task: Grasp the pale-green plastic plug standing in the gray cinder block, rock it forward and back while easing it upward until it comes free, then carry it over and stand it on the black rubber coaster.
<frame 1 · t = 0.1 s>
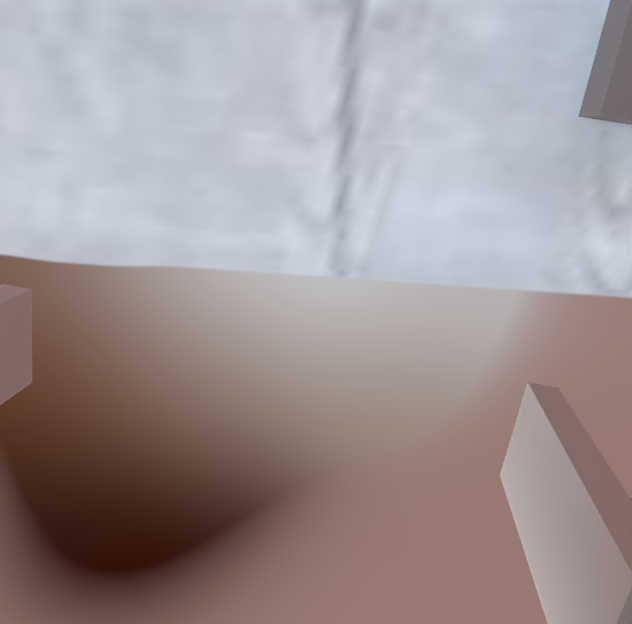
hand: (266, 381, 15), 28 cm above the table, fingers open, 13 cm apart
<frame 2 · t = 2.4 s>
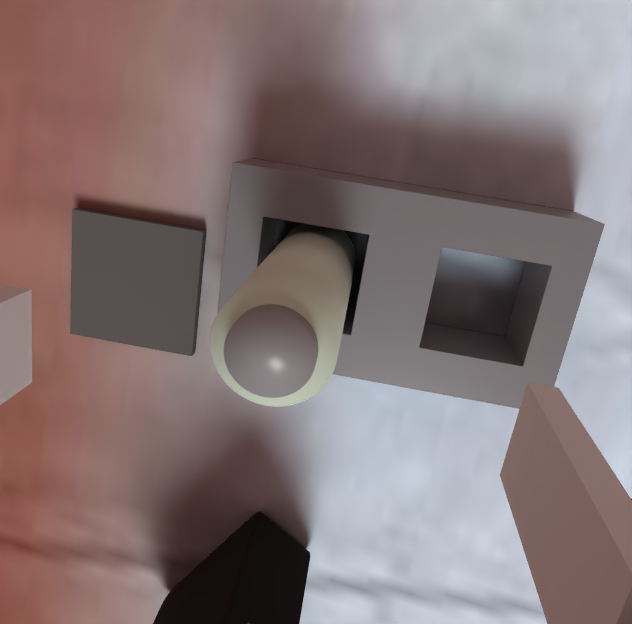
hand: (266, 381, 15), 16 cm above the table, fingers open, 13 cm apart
electronic device: (237, 568, 37), on the table
plug: (317, 258, 30), resting in gray cinder block
coaster: (138, 282, 31), on the table
gray cinder block: (393, 272, 30), on the table
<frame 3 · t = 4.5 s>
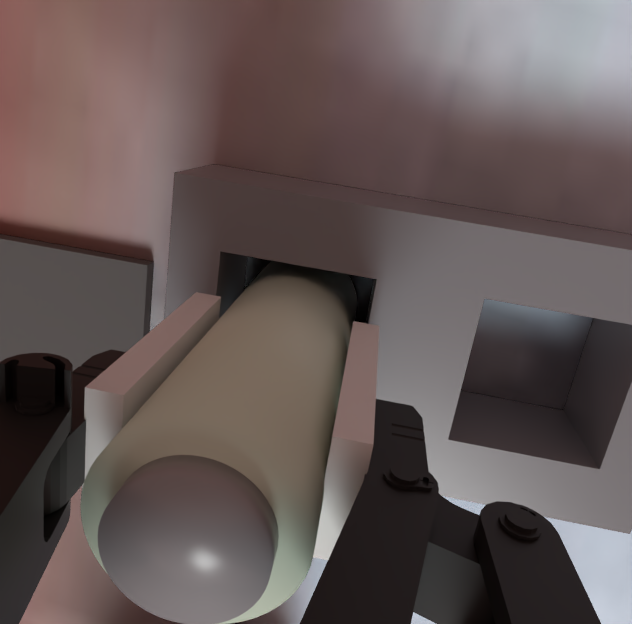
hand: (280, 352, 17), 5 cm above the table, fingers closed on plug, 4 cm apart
plug: (304, 302, 22), resting in gray cinder block, touching gripper
coaster: (65, 329, 23), on the table
gray cinder block: (409, 321, 22), on the table
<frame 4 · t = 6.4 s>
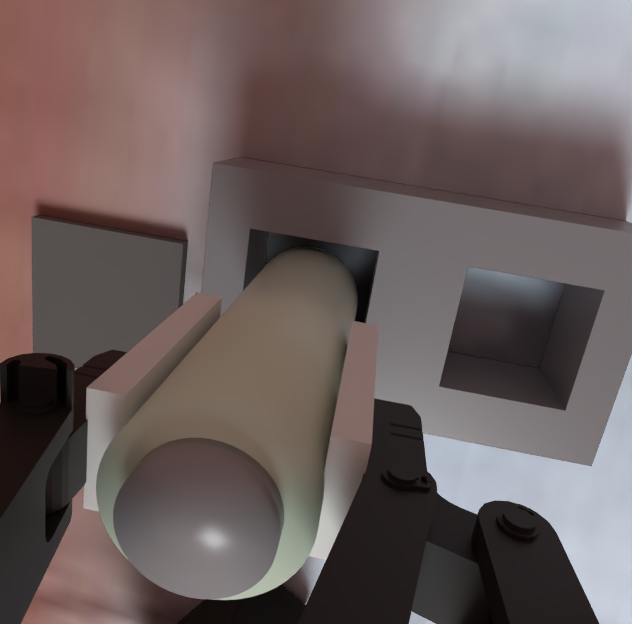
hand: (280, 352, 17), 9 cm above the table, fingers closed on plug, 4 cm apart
electronic device: (228, 622, 33), on the table
plug: (306, 297, 22), point 3 cm above the table, touching gripper
coaster: (110, 301, 27), on the table
gray cinder block: (407, 291, 25), on the table
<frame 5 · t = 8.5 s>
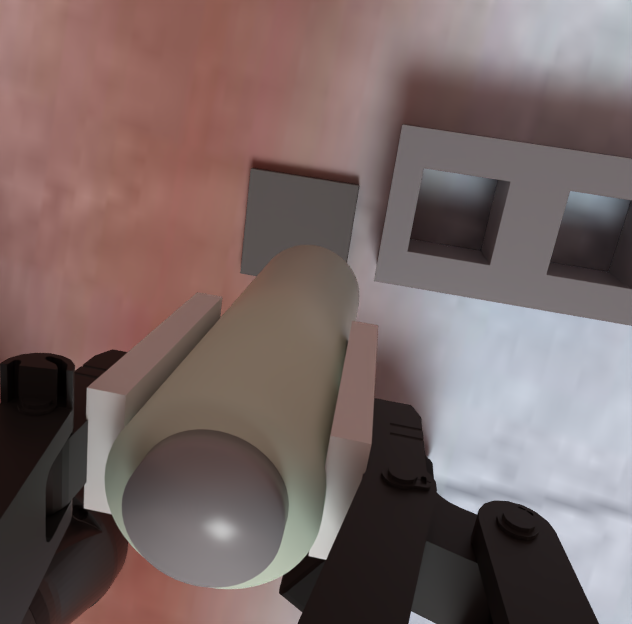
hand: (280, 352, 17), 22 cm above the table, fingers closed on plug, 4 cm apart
electronic device: (365, 477, 44), on the table
plug: (308, 295, 23), point 16 cm above the table, touching gripper
coaster: (298, 229, 38), on the table
gray cinder block: (515, 217, 36), on the table
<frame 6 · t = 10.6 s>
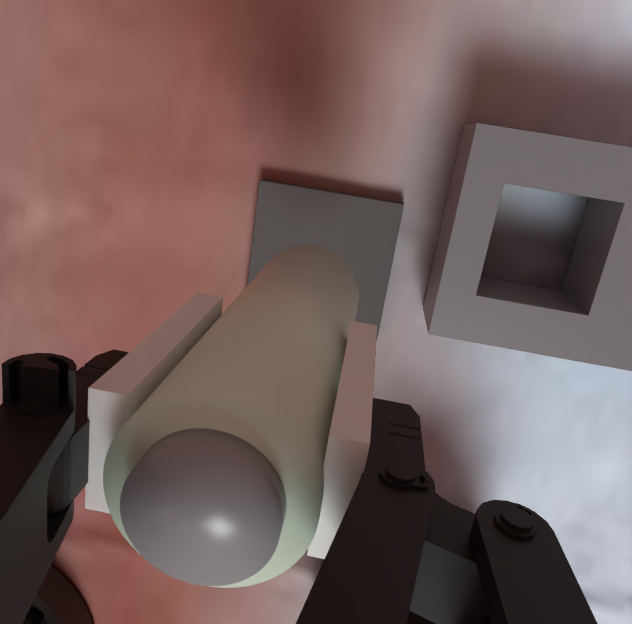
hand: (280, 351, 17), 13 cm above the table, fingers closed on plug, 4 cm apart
plug: (307, 294, 23), point 7 cm above the table, touching gripper
coaster: (321, 260, 29), on the table
gray cinder block: (609, 248, 27), on the table
when the fingers open (7 cm above the table, at t = 12.4 s): plug drops 1 cm, resting on coaster.
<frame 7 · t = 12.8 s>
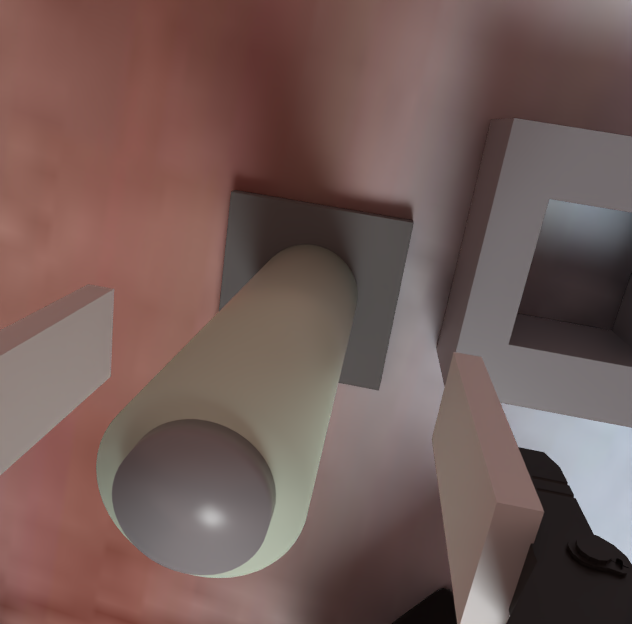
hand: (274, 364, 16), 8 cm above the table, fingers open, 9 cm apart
plug: (307, 294, 23), point 1 cm above the table, touching coaster
coaster: (309, 290, 23), on the table
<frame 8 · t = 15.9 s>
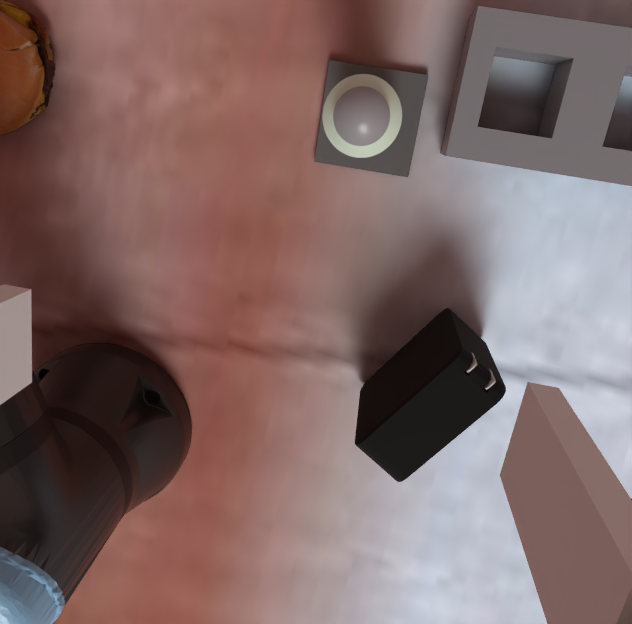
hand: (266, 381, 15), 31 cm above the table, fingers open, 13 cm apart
electronic device: (420, 362, 47), on the table
plug: (369, 119, 41), point 1 cm above the table, touching coaster
coaster: (369, 119, 42), on the table
burger: (5, 67, 44), on the table
gray cinder block: (569, 105, 40), on the table
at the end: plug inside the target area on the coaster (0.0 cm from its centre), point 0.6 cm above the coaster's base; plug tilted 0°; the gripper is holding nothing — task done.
